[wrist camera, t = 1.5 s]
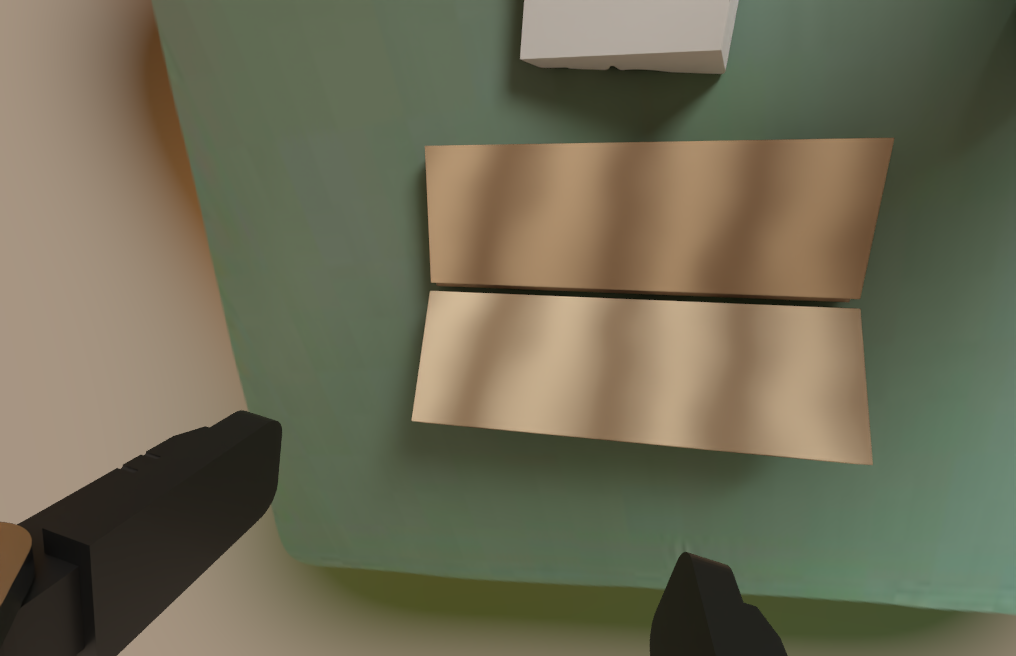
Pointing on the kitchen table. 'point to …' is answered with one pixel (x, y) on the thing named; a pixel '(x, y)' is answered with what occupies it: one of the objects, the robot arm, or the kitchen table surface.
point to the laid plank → (658, 216)
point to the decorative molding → (629, 34)
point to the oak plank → (649, 372)
